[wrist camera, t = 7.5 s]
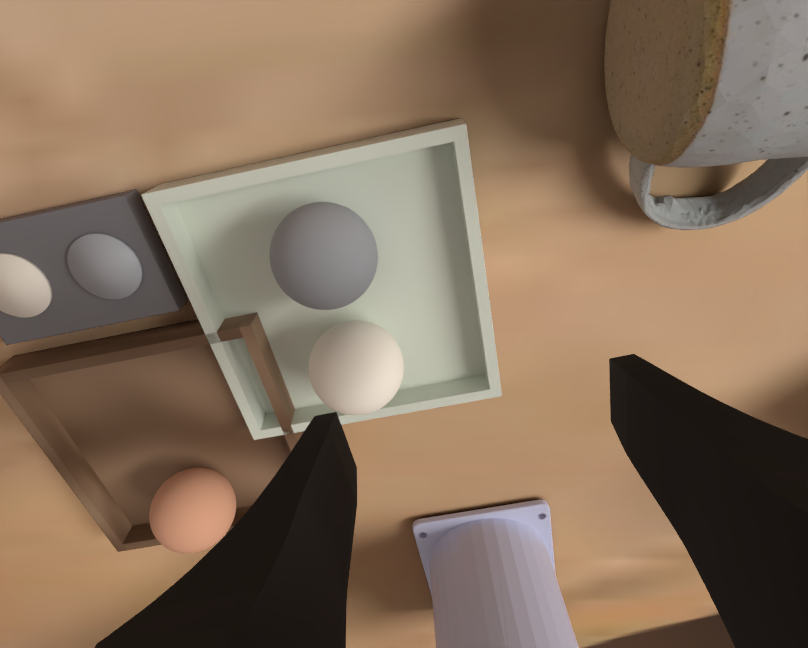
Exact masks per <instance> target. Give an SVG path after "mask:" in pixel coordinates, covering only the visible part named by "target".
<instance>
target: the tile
mask: <svg viewBox="0 0 808 648" xmlns="http://www.w3.org/2000/svg"><path fill="white" fill-rule="evenodd" d="M187 301H188V300H187V298H186V296H185V294H184V291H183V289H182V287H181V285H180V283H179V281H178V278H177V276H176V274H175V272H174V270H173V268H172V265H171V263H170V261H169V259H168V257H167V255H166V252H165V250H164V248H163V246H162V244H161V242H160V239H159V237H158V235H157V233H156V231H155V229H154V226H153V224H152V222H151V220H150V218H149V216H148V213H147V211H146V209H145V207H144V205H143V203H142V200H141V198H140V196H139V194H138V192H137V190H131V191H127V192H122V193H117V194H113V195H108V196H104V197H99V198H95V199H90V200H85V201H81V202H76V203H72V204H67V205H63V206H58V207H54V208H49V209H44V210H40V211H35V212H31V213H26V214H22V215H17V216H13V217H8V218H3V219H0V336H1V338H2V339H3V341H4V342H5V343H6V345H9V344H14V343H19V342H24V341H29V340H34V339H39V338H44V337H49V336H54V335H59V334H64V333H69V332H74V331H79V330H84V329H89V328H94V327H99V326H104V325H109V324H114V323H119V322H124V321H129V320H134V319H139V318H144V317H149V316H155V315H160V314H165V313H170V312H175V311H179V310H180V309H181V308H182V307H183V305H184V304H185V303H186V302H187Z"/></svg>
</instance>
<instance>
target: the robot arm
mask: <svg viewBox="0 0 808 648" xmlns="http://www.w3.org/2000/svg"><path fill="white" fill-rule="evenodd" d="M609 363H610V406H611V422H612V424H613V426H614V429H615V431H616V433H617V435H618V437H619V440H620V442H621V444H622V446H623V448H624V450H625V452H626V454H627V456H628V457H629V459H630V460H631V462H632V464H633V465H634V467H635V468H636V470H637V471H638V473H639V475H640V476H641V478H642V479H643V481H644V482H645V484H646V485H647V487H648V489H649V490H650V492H651V493H652V495H653V496H654V498H655V499H656V501H657V502H658V504H659V505H660V507H661V509H662V510H663V512H664V513H665V515H666V516H667V518H668V519H669V521H670V522H671V524H672V526H673V527H674V529H675V530H676V532H677V534H678V535H679V537H680V539H681V540H682V542H683V544H684V545H685V547H686V549H687V551H688V553H689V555H690V557H691V559H692V561H693V563H694V564H695V566H696V568H697V570H698V572H699V574H700V576H701V578H702V580H703V582H704V584H705V586H706V588H707V590H708V592H709V594H710V596H711V598H712V600H713V602H714V604H715V606H716V608H717V610H718V612H719V614H720V616H721V618H722V620H723V622H724V624H725V626H726V629H727V631H728V633H729V635H730V637H731V639H732V641H733V643H734V646H735V648H808V439H806V438H803V437H800V436H798V435H795V434H793V433H790V432H788V431H785V430H783V429H780V428H778V427H775V426H773V425H770V424H768V423H765V422H763V421H761V420H758V419H756V418H754V417H752V416H749V415H747V414H745V413H743V412H741V411H739V410H737V409H735V408H733V407H730V406H728V405H726V404H724V403H722V402H720V401H718V400H716V399H714V398H712V397H710V396H708V395H707V394H705V393H703V392H701V391H699V390H697V389H695V388H693V387H692V386H690V385H688V384H686V383H684V382H683V381H681V380H679V379H677V378H675V377H674V376H672V375H670V374H668V373H667V372H665V371H663V370H661V369H660V368H658V367H656V366H654V365H653V364H651V363H649V362H647V361H646V360H644V359H642V358H640V357H638V356H637V355H635V354H631V355H626V356H621V357H616V358H611V359H609ZM356 508H357V467H356V464H355V462H354V459H353V456H352V453H351V451H350V448H349V445H348V442H347V440H346V437H345V434H344V431H343V428H342V426H341V423H340V420H339V417H338V415H337V412H332V413H327V414H322V415H317V416H314V418H313V419H312V420H311V422H310V423H309V425H308V426H307V428H306V429H305V431H304V432H303V434H302V436H301V437H300V439H299V440H298V442H297V443H296V445H295V446H294V448H293V449H292V451H291V452H290V454H289V455H288V457H287V458H286V460H285V461H284V463H283V464H282V466H281V467H280V469H279V470H278V471H277V473H276V474H275V476H274V477H273V479H272V480H271V481H270V483H269V484H268V485H267V487H266V488H265V489H264V490H263V492H262V493H261V494H260V496H259V497H258V498H257V500H256V501H255V502H254V504H253V505H252V506H251V507H250V508H249V510H248V511H247V512H246V513H245V514H244V515H243V517H242V518H241V519H240V520H239V521H238V522H237V523H236V524H235V526H234V527H233V528H232V529H231V530H230V531H229V532H228V533H227V534H226V535H225V536H224V537H223V539H222V540H221V541H220V542H219V543H218V544H216V545H215V546H214V547H213V548H212V549H211V550H210V551H209V552H208V553H207V554H206V555H205V556H204V557H203V558H202V559H201V560H200V561H199V562H198V563H197V564H196V565H195V566H194V567H193V568H192V569H191V570H190V571H189V572H187V573H186V574H185V575H184V576H183V577H182V578H181V579H179V580H178V581H177V582H176V583H175V584H174V585H173V586H171V587H170V588H169V589H168V590H167V591H165V592H164V593H163V594H162V595H161V596H159V597H158V598H157V599H156V600H155V601H153V602H152V603H151V604H150V605H148V606H147V607H146V608H145V609H143V610H142V611H141V612H139V613H138V614H137V615H135V616H134V617H133V618H131V619H130V620H129V621H127V622H126V623H125V624H123V625H122V626H121V627H119V628H118V629H117V630H115V631H114V632H113V633H111V634H110V635H109V636H107V637H106V638H104V639H103V640H102V641H100V642H99V643H97V645H96V646H95V648H346V600H347V587H348V577H349V569H350V560H351V552H352V543H353V535H354V526H355V517H356ZM541 513H542V514H541ZM422 532H424V533H422ZM413 533H414V536H415V540H416V543H417V547H418V550H419V554H420V557H421V561H422V564H423V568H424V571H425V575H426V578H427V582H428V585H429V589H430V592H431V596H432V602H433V614H434V627H435V639H436V648H579V647H578V644H577V641H576V638H575V635H574V631H573V628H572V625H571V622H570V619H569V616H568V613H567V610H566V607H565V603H564V600H563V597H562V594H561V591H560V588H559V585H558V582H557V579H556V576H555V565H554V553H553V541H552V529H551V517H550V508H549V505H548V502H547V501H545V500H534V501H528V502H522V503H515V504H509V505H503V506H497V507H491V508H484V509H478V510H472V511H466V512H460V513H453V514H447V515H441V516H435V517H429V518H422V519H418V520H416V521H414V522H413Z"/></svg>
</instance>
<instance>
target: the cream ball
mask: <svg viewBox="0 0 808 648" xmlns="http://www.w3.org/2000/svg"><path fill="white" fill-rule="evenodd" d="M403 372H404V363H403V357H402V353H401V350H400V348H399V346H398V344H397V342H396V341H395V339H394V338H393V337H392V336H391V335H390V334H389V333H388V332H387V331H386V330H385V329H383V328H382V327H380V326H378V325H376V324H374V323H371V322H367V321H361V320H352V321H346V322H342V323H339V324H337V325H335V326H333V327H331V328H330V329H329V330H327V331H326V332H325V333H324V334H323V335H322V336H321V337H320V338H319V339H318V341H317V342H316V344H315V345H314V347H313V350H312V352H311V355H310V359H309V377H310V381H311V384H312V387H313V389H314V391H315V393H316V394H317V396H318V397H319V398H320V399H321V401H322V402H323V403H325V404H326V405H327V406H328V407H330V408H331V409H333V410H335V411H337V412H340V413H343V414H347V415H365V414H369V413H372V412H374V411H376V410H378V409H380V408H382V407H383V406H385V405H386V404H387V403H388V402H389V401H390V400H391V399H392V398H393V397H394V396H395V394H396V393H397V391H398V389H399V387H400V385H401V381H402V378H403Z"/></svg>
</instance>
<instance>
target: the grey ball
mask: <svg viewBox="0 0 808 648" xmlns="http://www.w3.org/2000/svg"><path fill="white" fill-rule="evenodd" d="M377 264H378V251H377V245H376V241H375V238H374V236H373V233H372V231H371V230H370V228H369V226H368V225H367V224H366V223H365V221H364V220H363V219H362V218H361V217H360V216H359V215H358V214H356V213H355V212H354V211H352V210H350V209H349V208H347V207H345V206H342V205H339V204H336V203H331V202H315V203H310V204H306V205H303V206H301V207H299V208H297V209H295V210H293V211H292V212H290V213H289V214H288V215H287V216H286V217H285V218H284V219H283V220H282V221H281V222H280V224H279V225H278V227H277V228H276V230H275V232H274V234H273V237H272V240H271V244H270V266H271V270H272V273H273V275H274V278H275V280H276V282H277V283H278V285H279V286H280V288H281V289H282V290H283V291H284V293H285V294H286V295H287V296H289V297H290V298H291V299H292V300H294V301H296V302H297V303H299V304H301V305H303V306H306V307H308V308H312V309H317V310H332V309H338V308H342V307H344V306H347V305H349V304H351V303H352V302H354V301H355V300H357V299H358V298H359V297H361V296H362V295H363V294H364V293H365V291H366V290H367V289H368V288H369V286H370V284H371V282H372V281H373V279H374V276H375V273H376V269H377Z"/></svg>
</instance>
